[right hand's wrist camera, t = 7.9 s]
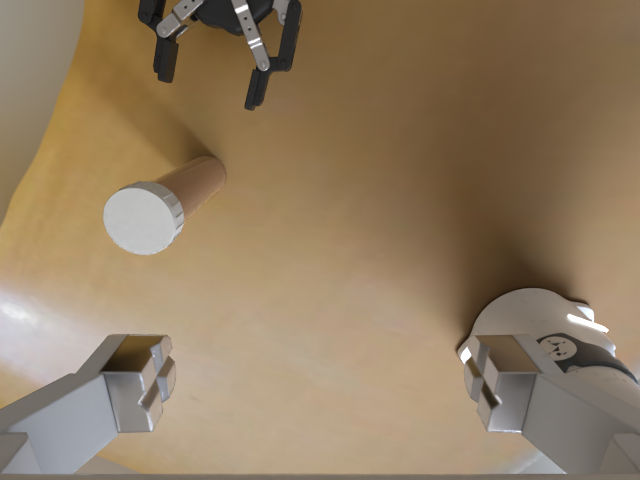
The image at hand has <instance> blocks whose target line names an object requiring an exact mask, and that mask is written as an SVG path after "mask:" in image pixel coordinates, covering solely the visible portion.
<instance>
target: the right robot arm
mask: <svg viewBox="0 0 640 480" xmlns="http://www.w3.org/2000/svg"><path fill="white" fill-rule="evenodd" d="M601 330H602V331H605V332H607V331H608V330H607V329H606V328H605V327H604V326H601V325H598V324H595V323H594V312H593V310H592V309H591V308H590V307H589V306H588V305H586V304H583V303H578V302H571V301H568V300H566V299H564V298H563V297H561V296H560V295H558V294H556V293H554V292H552V291H549V290H546V289H540V288H525V289H519V290H515V291H512V292H509V293H507V294H504V295H502V296H500V297H499V298H497V299H495V300H494V301H493V302H491V303H490V304H489V305H488V306H487V307H486V308H485V309H484V310H483V311H482V312H481V313H480V315H479V316H478V318H477V320H476V322H475V324H474V326H473V329H472V332H471V334H470V336H469V338H468V339H467V340H466V341H465V342H464V343H463V344H462V346H461V347H460V348H459V350H458V356H459V358H460V359H461V360H462V362H463V363H464V365H465V367H464V379H465V385H466V389H467V391H468V394H469V396H470V398H472V399H473V400H474V401H476V402H477V403H478V407H477V412H478V414H479V416H480V419H481V421H482V423H483V425H484V427H485V429H486V431H487V432H508V433H522V434H521V435H523V436H524V437H525V438H526V439H527V440H528V441H530V442H531V443H532V444H533V445H534V446H535V447H537V448H538V449H539V450H540V451H541V452H542V453H544V454H545V455H546V456H547V457H548V458H550V459H551V460H552V461H553V462H554V463H555V464H557V465H558V466H559V467H560V468H561V469H562V470H563V471H564V473H565V474H73V473H74V472H75V471H77V470H78V469H79V468H80V467H81V466H82V465H84V464H85V463H86V462H87V461H88V460H89V459H91V458H92V457H93V456H94V455H95V454H96V453H98V452H99V451H100V450H101V449H102V448H104V447H105V446H106V445H107V444H108V443H109V442H111V441H112V440H113V439H114V438H115V437H116V436H118V433H132V432H153V431H154V429H155V427H156V425H157V423H158V421H159V419H160V416H161V414H162V412H163V407H162V403H163V402H164V401H166V400H167V399H168V398H170V396H171V394H172V391H173V389H174V385H175V380H176V367H175V361H174V360H173V359H172V358H171V357H170V356H169V353H170V352H171V350H172V343H171V339H170V337H169V336H168V335H150V334H131V335H130V334H112V335H109V336H107V338H106V339H105V340H104V341H103V342H102V343H101V345H100V346H99V347H98V348H97V349H96V350H95V352H94V353H93V354H92V355H91V356H90V357H89V358H88V360H87V361H86V362H85V363H84V364H83V365H82V367H81V368H80V369H79V370H78V371H77V372H76V374H68V375H66V376H64V377H62V378H60V379H58V380H56V381H54V382H52V383H50V384H48V385H46V386H44V387H43V388H41V389H39V390H37V391H35V392H33V393H31V394H29V395H27V396H25V397H23V398H21V399H19V400H17V401H15V402H13V403H11V404H10V405H8V406H6V407H4V408H2V409H0V480H640V386H639V384H638V382H637V380H636V378H635V377H634V376H633V375H632V373H631V372H630V371H629V370H628V369H627V367H626V366H625V365H624V364H623V363H622V362H621V361H620V360H619V359H617V358H616V357H615V352H614V350H615V348H616V347H615V345H614V344H613V342H612V341H611V340H610V339H609V338H608V337H607V336H606V335H605V334H604V333H603V332H602V331H601Z"/></svg>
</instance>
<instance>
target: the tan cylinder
mask: <svg viewBox="0 0 640 480" xmlns="http://www.w3.org/2000/svg"><path fill="white" fill-rule="evenodd" d="M225 181H226V171H225V168H224V166H223V164H222V163H221V162H220V161H219V160H218V159H216V158H214V157H212V156H200V157H198V158H196V159H194V160H192V161H190V162H188V163H186V164H184V165H182V166H180V167H178V168H176V169H174V170H172V171H170V172H168V173H166V174H165V175H163V176H161V177H159V178H157V179H155V180H153V181H152V182H154V183H157V184H160V185H163V186H164V187H166V188H167V189H169V190H170V191H171V192H173V194H174V195H175V196H176V197H177V199H178V200H179V201H180V204H181V206H182V209H183V212H184V222H185V221H186V220H187V219H188V218H189V217H190V216H191V215H192V214H194V213H195V212H196V211H197V210H198V209H199V208H200V207H201V206H202V205H203V204H204V203H205V202H207V201H208V200H209V199H210V198H211V197H212V196H213V195H214V194H215V193H216V192H217V191H218V190H219V189H221V188H222V187H223V185H224V184H225Z"/></svg>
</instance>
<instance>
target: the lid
mask: <svg viewBox="0 0 640 480" xmlns="http://www.w3.org/2000/svg"><path fill="white" fill-rule="evenodd" d="M103 220H104V225H105V228H106V230H107V232H108V234H109V236H110V237H111V238H112V240H113V241H114V242H115V243H116V244H117V245H119V246H120V247H121V248H123V249H125V250H126V251H129V252H131V253H134V254H139V255H150V254H154V253H157V252H159V251H161V250H163V249H164V248H165V247H168V246H169V245H170V244H171V243H172V242H173V241H174V240H175V238H176V237H177V236H178V235H179V234H180V233H181V229H182V227H183V224H184V212H183V209H182V206H181V204H180V201H179V200H178V199H177V197H176V196H175V195H174V194H173V192H171V191H170V190H169V189H167V188H166V187H164V186H163V185H160V184H157V183H154V182H152V181H150V182H140V181H138V182H136V183H134V184H132V185H127V186H125V187H123V188H121V189H119V191H118V192H116V193H114V194H113V195H112V196H111V197H110V198H109V199H108V201H107V203H106V204H105V207H104V212H103Z"/></svg>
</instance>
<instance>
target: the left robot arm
mask: <svg viewBox="0 0 640 480" xmlns="http://www.w3.org/2000/svg"><path fill="white" fill-rule="evenodd" d="M165 3H166V0H140V5H139V10H138V18H139V20H140V21H141V22H143V23H145V24H146V25H147V26H149V27H150V28H151V29H153V30H154V31H155V33H156V35H157V44H156V50H155V57H154V64H153V67H154V72H155V73H158V80H159V81H163V82H166V83H172V81H173V77H174V71H175V65H176V59H177V53H178V47H179V44H177V43H176V40H177V39H178V38H179V37H180V36H181V35H183V34H184V33H185V32H186V31H187V30H188V29H190V28H192V27H194V26H195V25H196V24H198V23H199V22H200V21H201V22H202V23H204V24H205V25H207V26H210V27H213V28H217V29H225V30H226V31H228V32H229V33H231V34H233V35H236V36H239V35H245V37H246V40H247V42H248V44H249V46H250V48H251V51H252V53H253V56H254V59H255V61H256V64H257V66H256V70H254V69H253V72H252V76H251V80H250V85H249V89H248V93H247V98H246V102H245V109H248V110H251V111H252V110H254V109H255V106H260V105H261V104H262V102H263V100H264V96H265V91H266V88H267V84H268V80H269V76H270V75H271V73H273V72H278V71H285V72H287V71H289V70H290V69H291V67H292V63H293V58H294V53H295V48H296V43H297V38H298V33H299V28H300V23H301V18H302V13H303V11H302V6H301V3H300V2H299V1H298V0H290V1H289V0H181V1H180V2H179V3H178V4H177V5H176V6H175V7H174V8H173V9H172V12H171V13H170V14H169V15H168V16H167V17H166V18H165V19H162V18H163V13H164V8H165ZM186 7H187V8H186ZM273 9H274V10H276V11H277V13H278V21H279V23H280V24H281V25H282V26H284V28H283V34H282V39H281V44H280V49H279V55H278V57H270V56H269V53H268V50H267V47H266V44H265V41H264V38H263V35H262V33H261V30H260V27H259V24H258V23H260V22H261V21H262V20H263V19H264V18H265V17H266V16H267V15H269V14H270V13H271V12H272V11H273Z"/></svg>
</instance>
